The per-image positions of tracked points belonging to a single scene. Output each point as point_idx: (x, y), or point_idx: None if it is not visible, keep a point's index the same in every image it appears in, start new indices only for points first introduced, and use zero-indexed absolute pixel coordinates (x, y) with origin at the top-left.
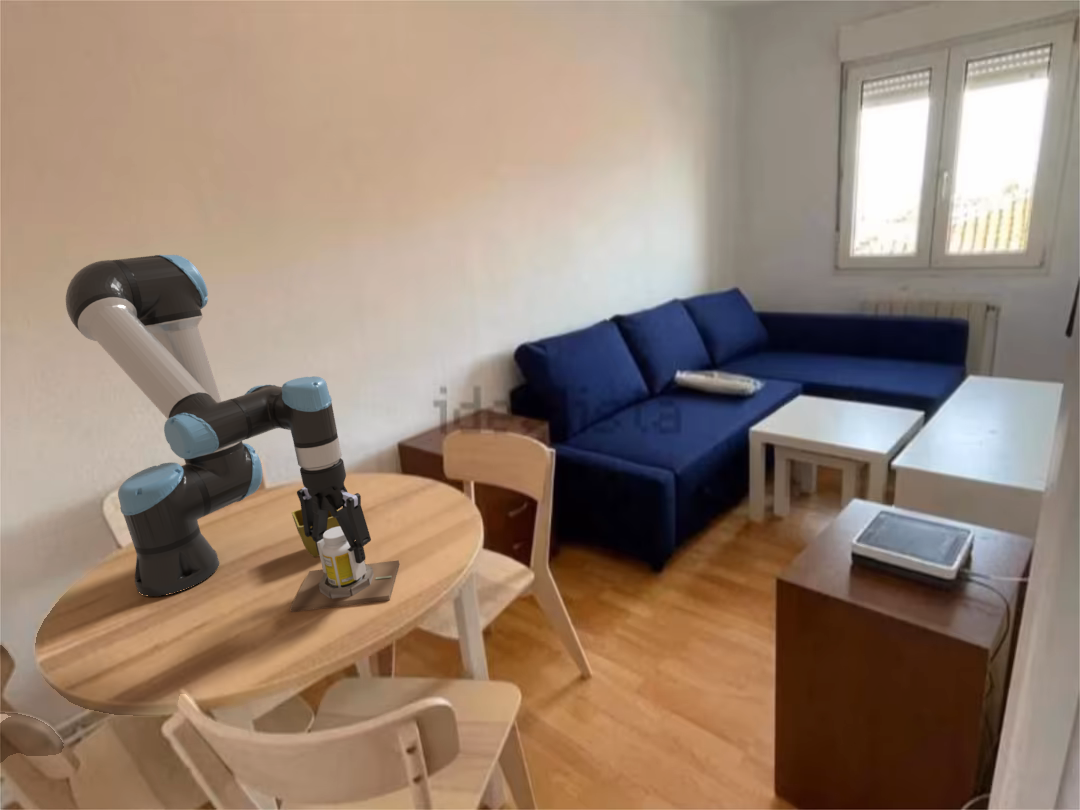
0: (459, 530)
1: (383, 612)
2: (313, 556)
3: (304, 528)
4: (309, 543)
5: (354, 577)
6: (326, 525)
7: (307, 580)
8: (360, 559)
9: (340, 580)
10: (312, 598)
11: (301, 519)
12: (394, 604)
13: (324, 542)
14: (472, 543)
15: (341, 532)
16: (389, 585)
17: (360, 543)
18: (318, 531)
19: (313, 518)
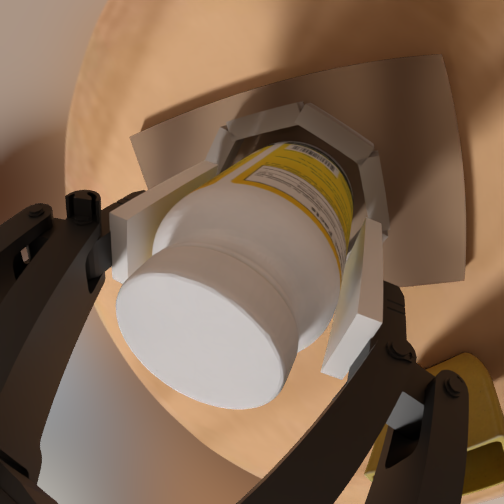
0: (153, 375)
1: (130, 83)
2: (468, 353)
3: (464, 427)
4: (475, 383)
5: (208, 165)
6: (304, 434)
7: (455, 224)
8: (126, 198)
9: (263, 150)
10: (383, 102)
11: (494, 458)
12: (121, 119)
13: (275, 282)
14: (108, 330)
15: (148, 337)
16: (150, 182)
17: (22, 213)
18: (341, 391)
19: (382, 498)
